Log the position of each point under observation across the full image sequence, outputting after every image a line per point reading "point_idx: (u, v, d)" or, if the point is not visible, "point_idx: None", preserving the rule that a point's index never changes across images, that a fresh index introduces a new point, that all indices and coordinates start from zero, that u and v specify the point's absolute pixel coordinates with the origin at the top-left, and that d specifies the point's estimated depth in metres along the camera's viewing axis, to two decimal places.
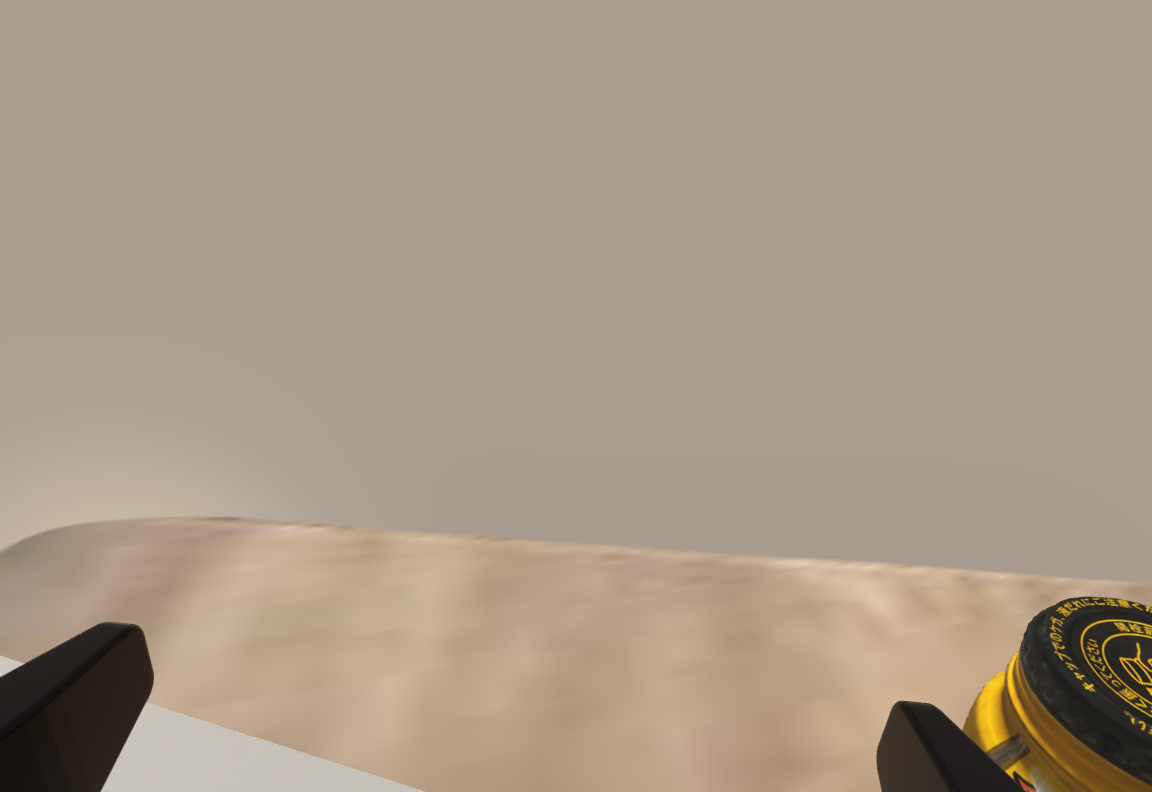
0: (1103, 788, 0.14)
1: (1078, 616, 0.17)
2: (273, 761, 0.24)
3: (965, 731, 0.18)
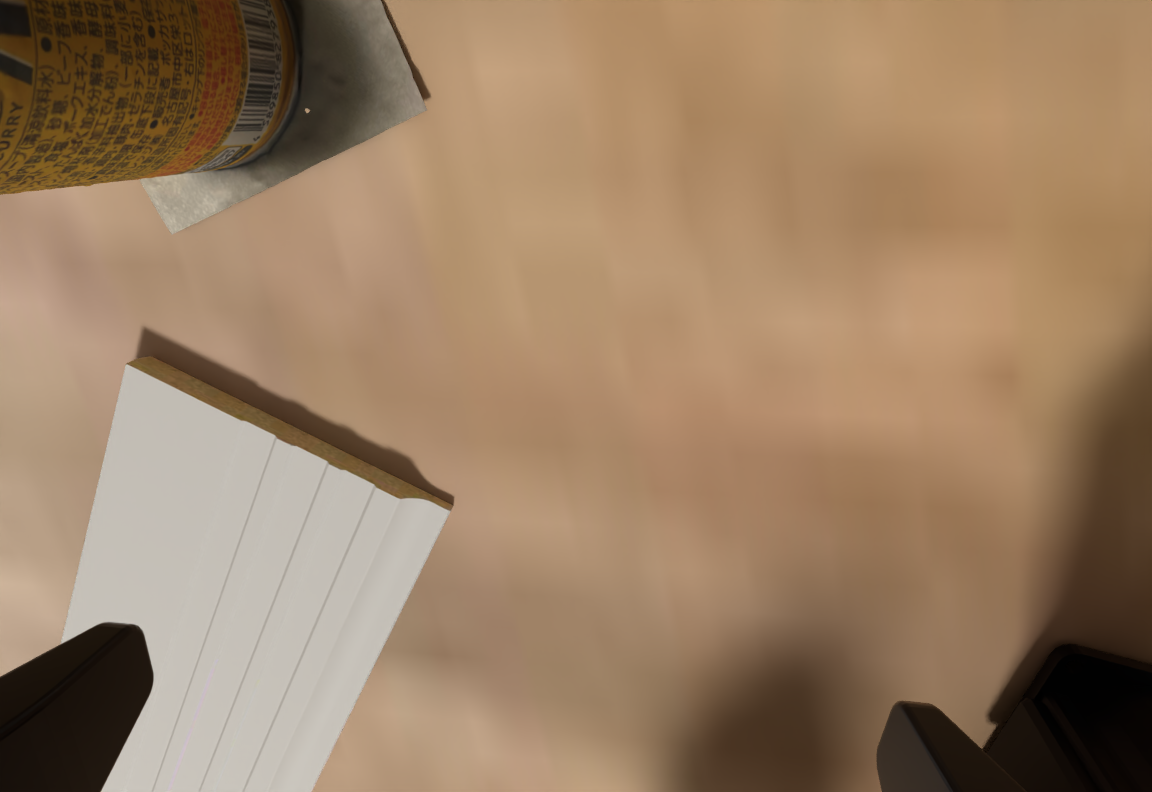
0: None
1: None
2: None
3: None
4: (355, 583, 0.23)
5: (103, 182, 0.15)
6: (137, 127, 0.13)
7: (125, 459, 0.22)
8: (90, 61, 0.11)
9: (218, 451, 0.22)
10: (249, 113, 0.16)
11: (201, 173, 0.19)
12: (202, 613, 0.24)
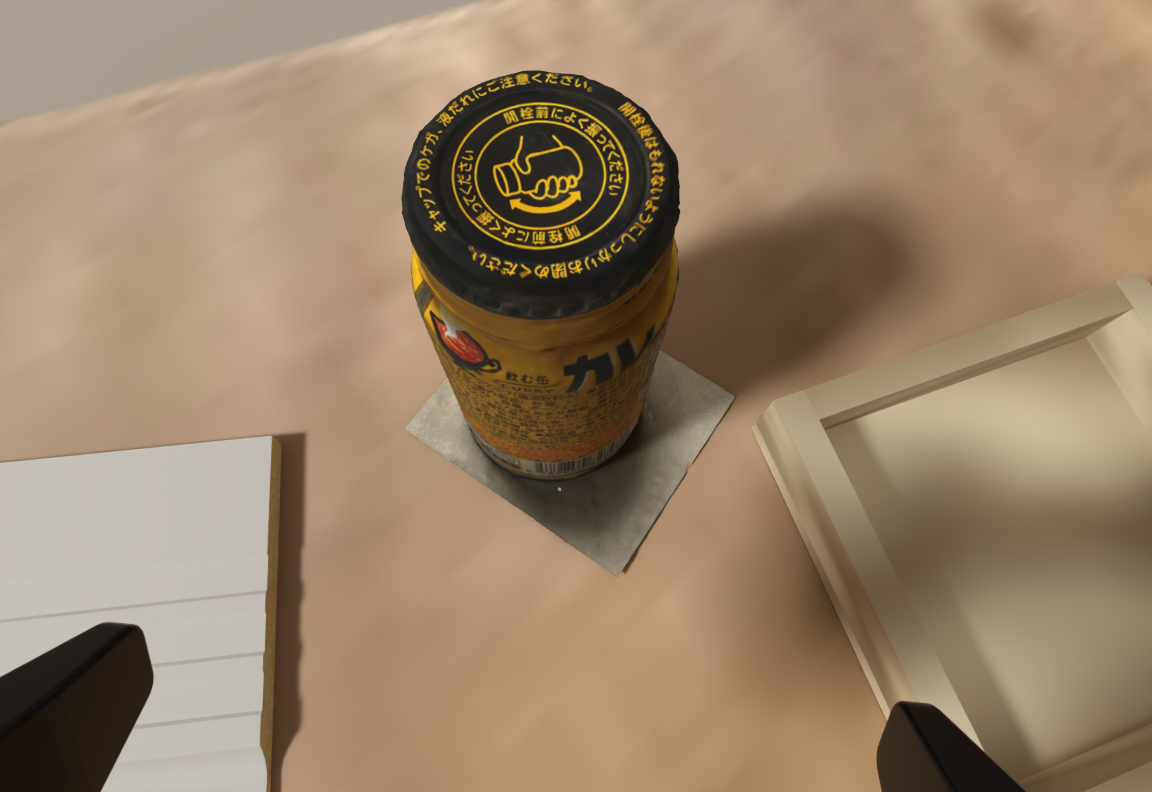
0: (476, 320, 0.13)
1: (461, 121, 0.13)
2: None
3: None
4: (122, 754, 0.19)
5: (468, 408, 0.19)
6: (535, 430, 0.18)
7: (165, 466, 0.22)
8: (582, 406, 0.16)
9: (221, 545, 0.21)
10: (552, 466, 0.21)
11: (467, 433, 0.23)
12: None
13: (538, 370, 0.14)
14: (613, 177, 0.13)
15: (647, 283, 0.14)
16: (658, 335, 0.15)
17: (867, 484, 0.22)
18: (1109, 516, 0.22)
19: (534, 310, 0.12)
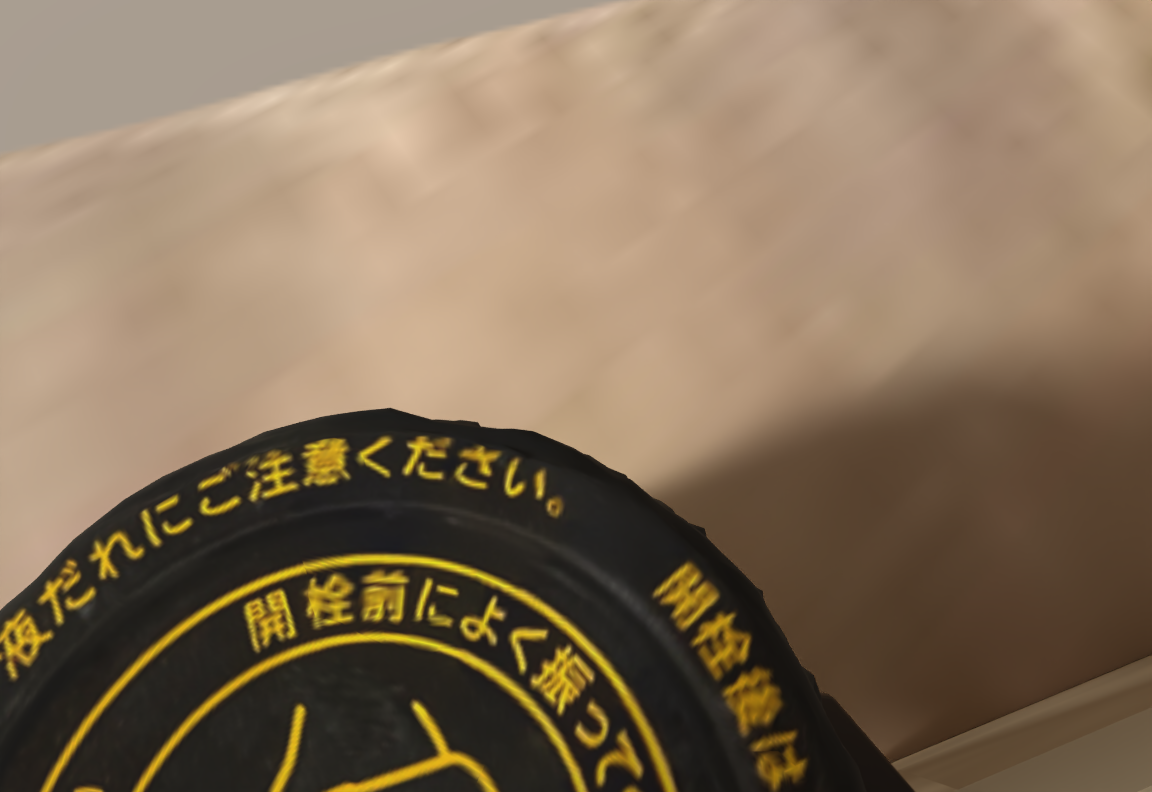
0: None
1: (80, 649, 0.04)
2: None
3: None
4: None
5: None
6: None
7: None
8: None
9: None
10: None
11: None
12: None
13: None
14: None
15: None
16: None
17: None
18: None
19: None
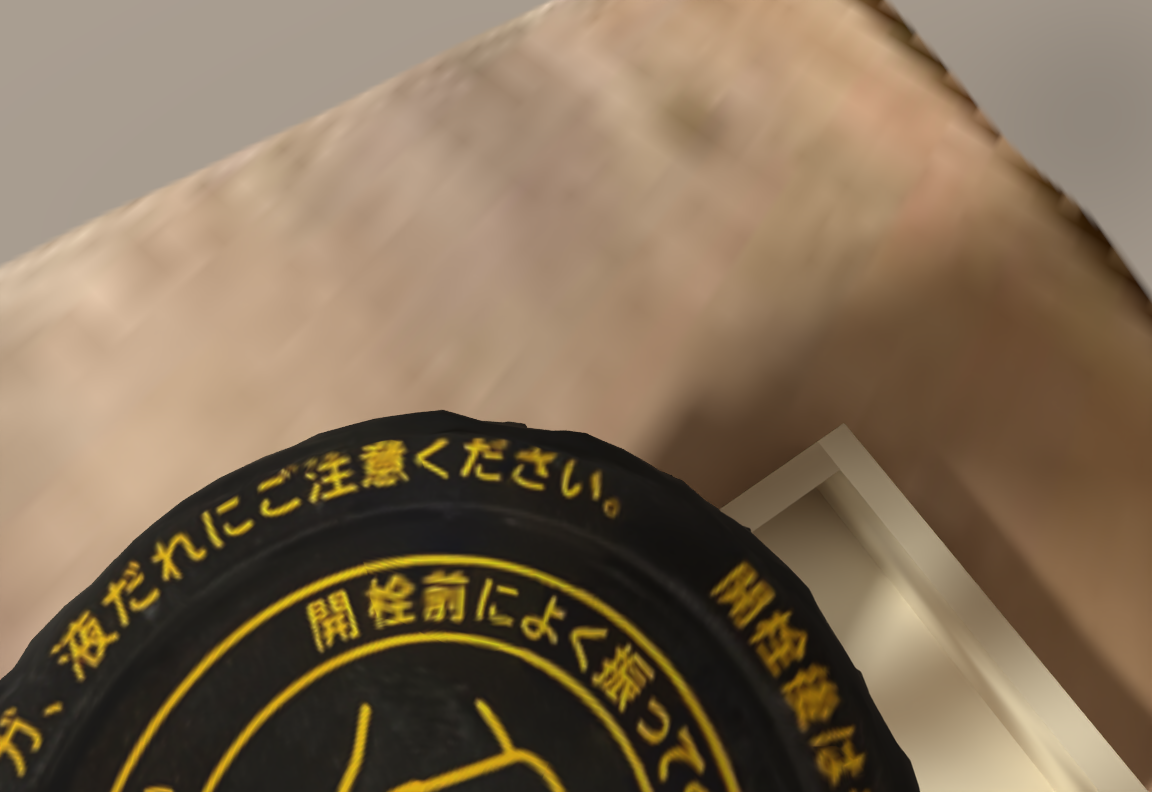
0: None
1: (146, 651, 0.04)
2: None
3: None
4: None
5: None
6: None
7: None
8: None
9: None
10: None
11: None
12: None
13: None
14: None
15: None
16: None
17: None
18: None
19: None
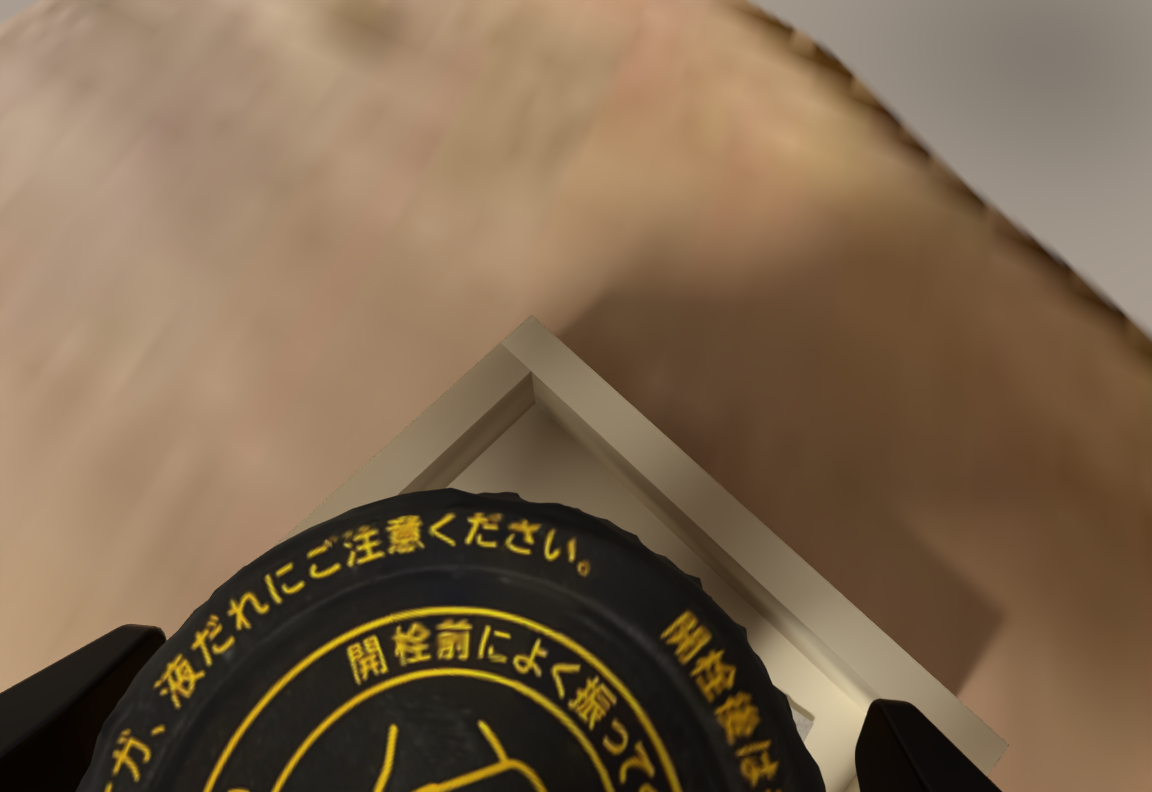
0: None
1: (224, 685, 0.05)
2: None
3: None
4: None
5: None
6: None
7: None
8: None
9: None
10: None
11: None
12: None
13: None
14: None
15: None
16: None
17: None
18: None
19: None
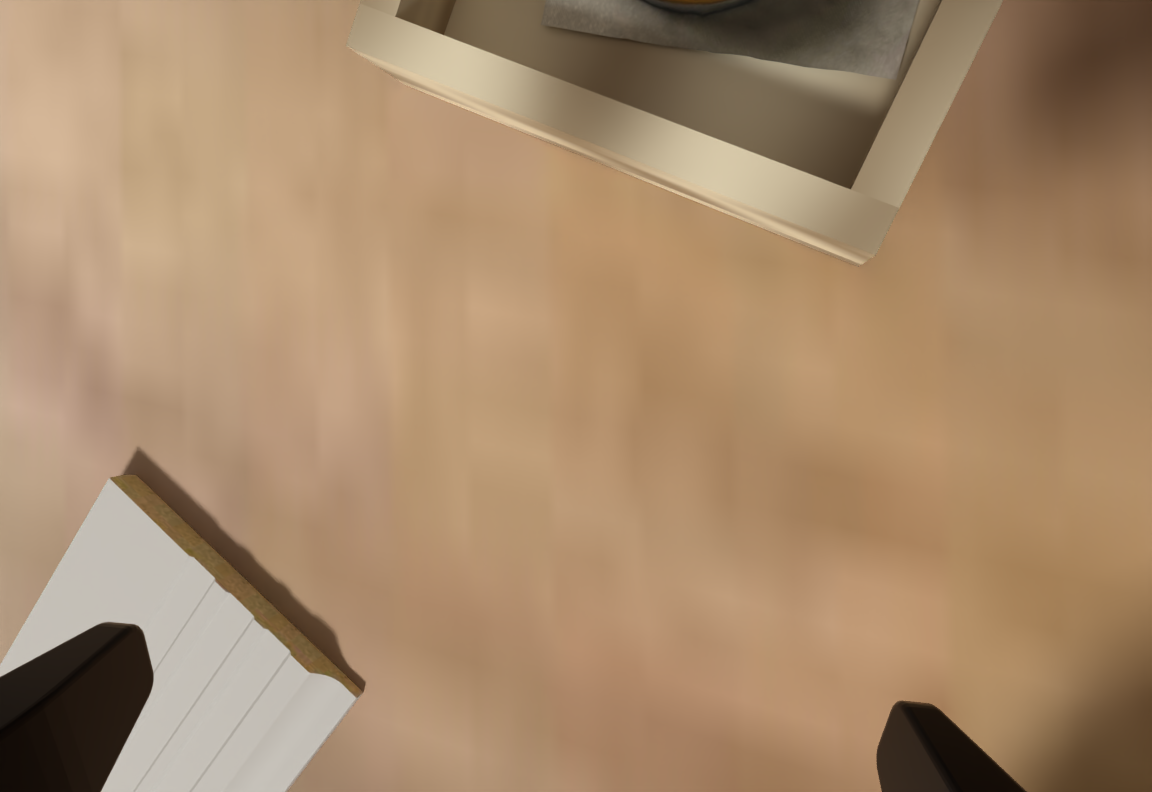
0: None
1: None
2: None
3: None
4: (245, 750, 0.22)
5: None
6: None
7: (79, 565, 0.23)
8: None
9: (160, 580, 0.22)
10: None
11: None
12: None
13: None
14: None
15: None
16: None
17: (527, 20, 0.18)
18: None
19: None
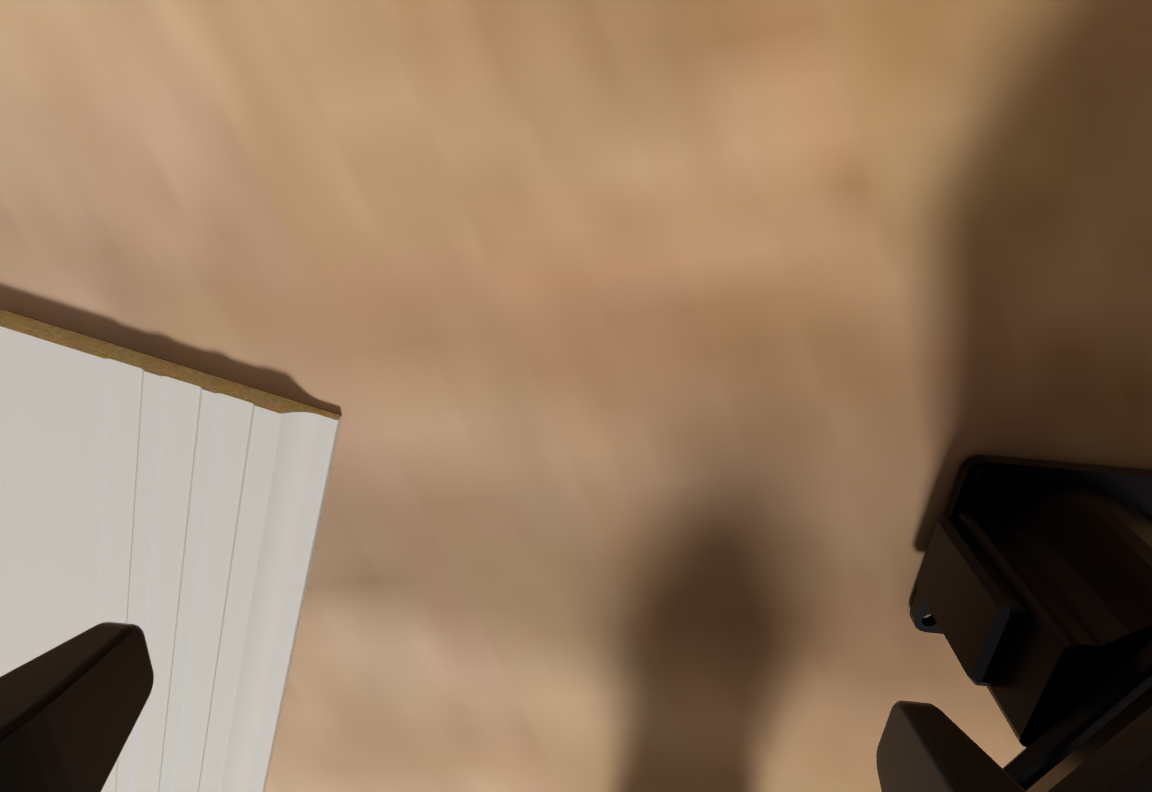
0: None
1: None
2: (6, 666, 0.26)
3: None
4: (259, 510, 0.23)
5: None
6: None
7: (0, 420, 0.22)
8: None
9: (89, 395, 0.21)
10: None
11: None
12: (118, 569, 0.24)
13: None
14: None
15: None
16: None
17: None
18: None
19: None
